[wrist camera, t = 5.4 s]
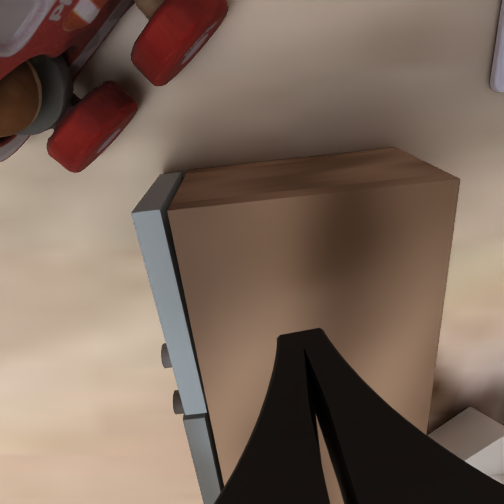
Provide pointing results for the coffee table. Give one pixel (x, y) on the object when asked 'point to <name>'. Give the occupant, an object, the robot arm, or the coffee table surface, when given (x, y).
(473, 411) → the figurine
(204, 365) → the cabinet
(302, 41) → the coffee table surface
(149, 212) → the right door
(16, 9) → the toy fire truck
